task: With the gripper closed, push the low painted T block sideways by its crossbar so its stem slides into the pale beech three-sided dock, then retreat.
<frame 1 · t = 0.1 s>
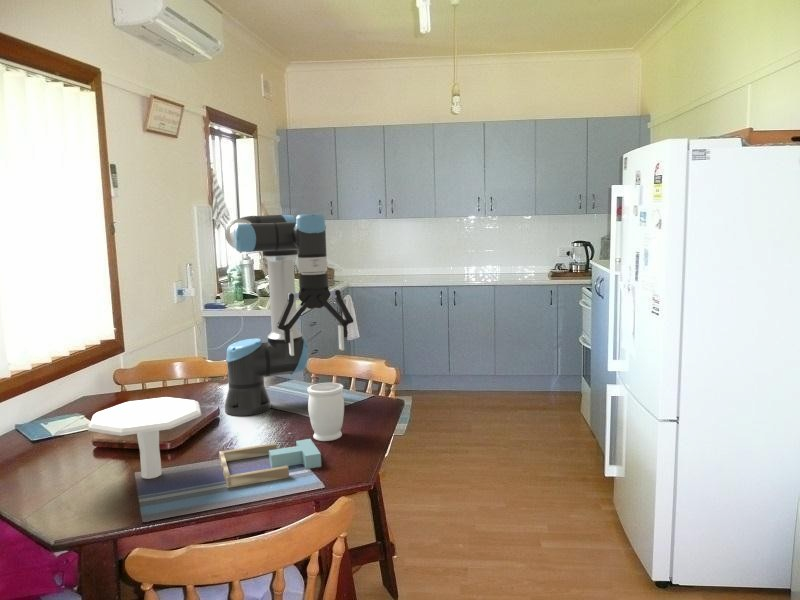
hand: (317, 352, 170), 28 cm above the table, fingers open, 13 cm apart
jar: (327, 437, 186), on the table
dock: (255, 468, 164), on the table
table 2: (151, 475, 162), on the table
t block: (308, 459, 169), on the table
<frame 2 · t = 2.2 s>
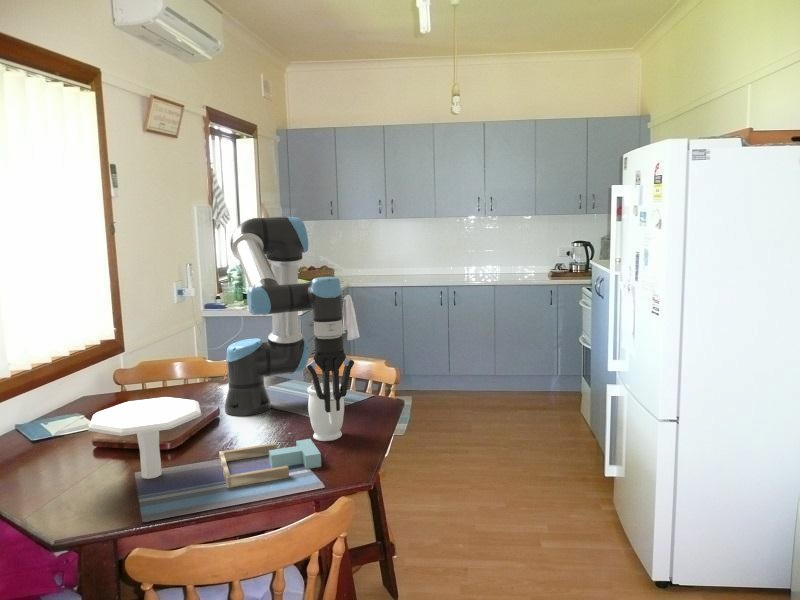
hand: (333, 423, 170), 9 cm above the table, fingers closed
nothing on the table moved.
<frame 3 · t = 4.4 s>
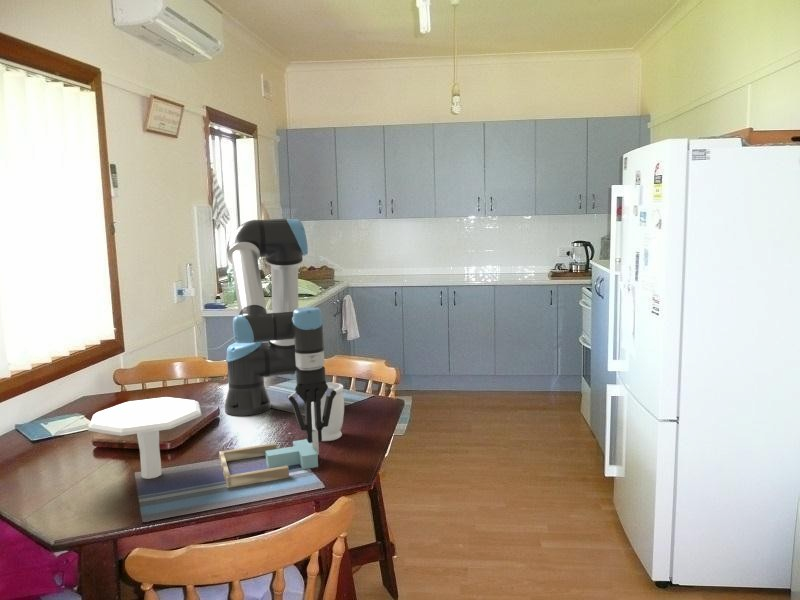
hand: (315, 453, 170), 1 cm above the table, fingers closed
t block: (305, 460, 169), on the table, touching gripper
everything else where it was.
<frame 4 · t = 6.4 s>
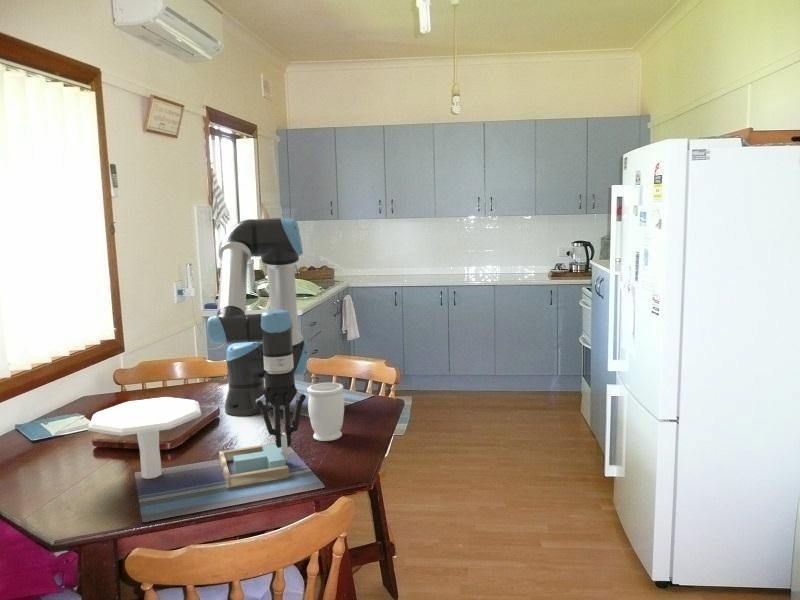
hand: (284, 458, 167), 1 cm above the table, fingers closed
t block: (274, 465, 166), on the table
everything else where it was.
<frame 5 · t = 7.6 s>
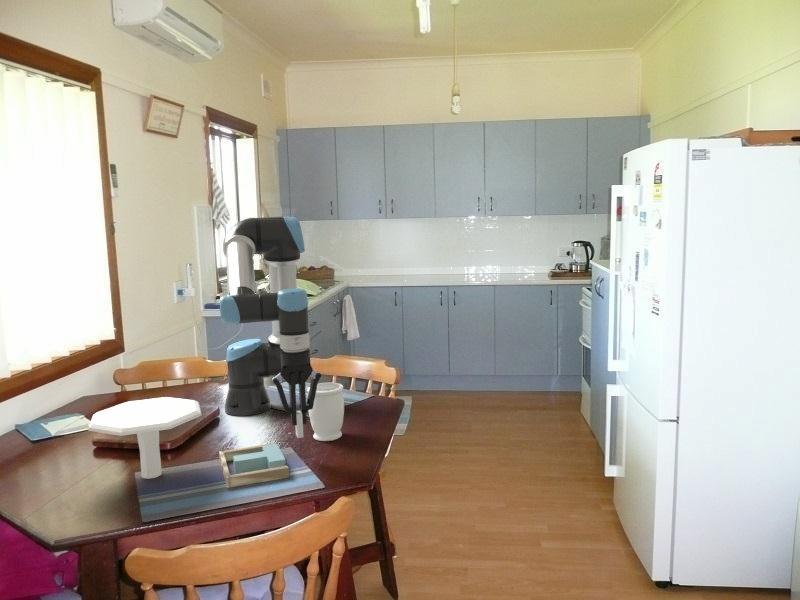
hand: (299, 435, 168), 7 cm above the table, fingers closed
nothing on the table moved.
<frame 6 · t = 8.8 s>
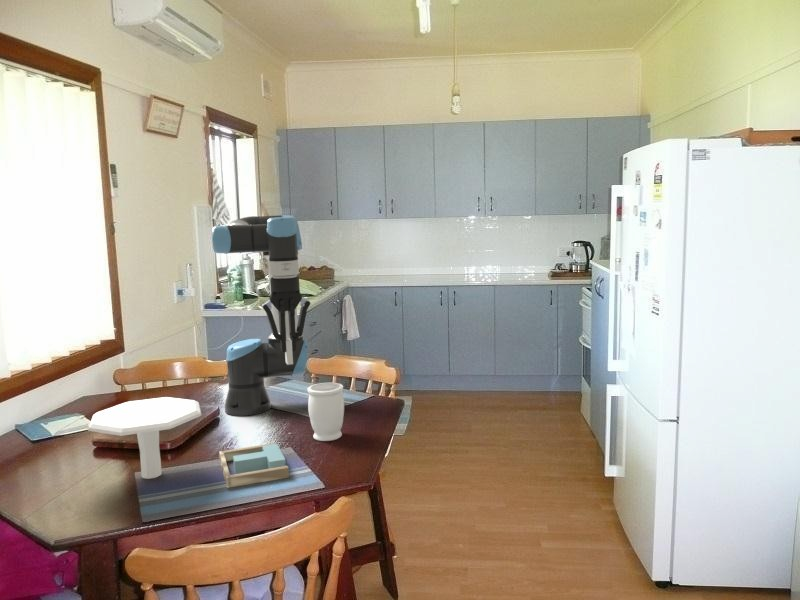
hand: (289, 363, 172), 25 cm above the table, fingers closed
nothing on the table moved.
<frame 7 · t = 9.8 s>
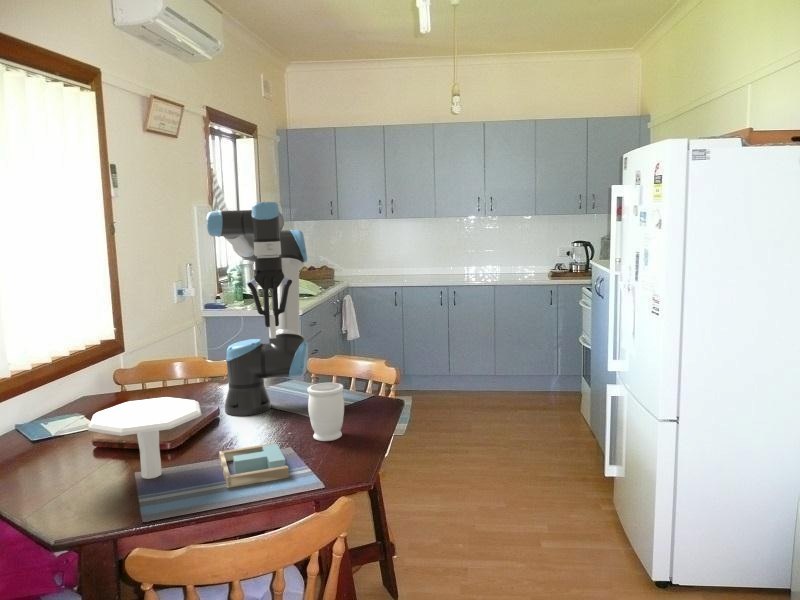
hand: (272, 337, 185), 29 cm above the table, fingers closed
nothing on the table moved.
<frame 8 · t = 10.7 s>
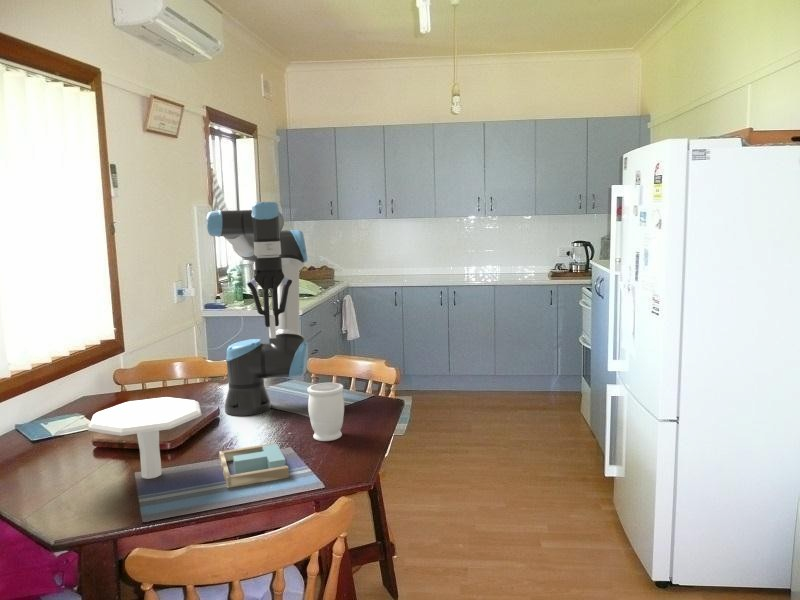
hand: (272, 337, 185), 29 cm above the table, fingers closed
nothing on the table moved.
at the end: t block inside the target area (1.1 cm from its centre), on the table; t block tilted 0°; t block moved 9.2 cm from its start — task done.
